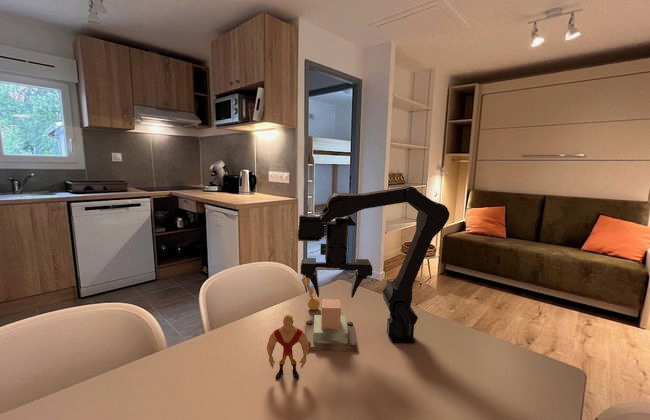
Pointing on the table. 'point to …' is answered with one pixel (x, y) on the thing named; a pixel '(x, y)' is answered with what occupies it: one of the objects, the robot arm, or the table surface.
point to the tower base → (332, 346)
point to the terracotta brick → (331, 314)
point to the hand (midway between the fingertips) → (335, 296)
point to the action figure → (287, 344)
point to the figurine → (312, 302)
